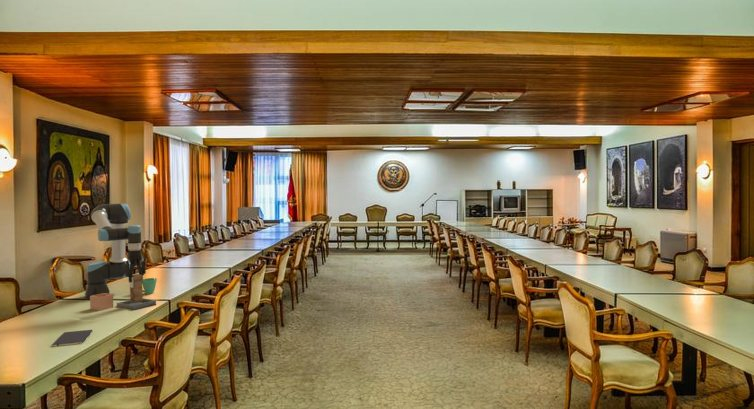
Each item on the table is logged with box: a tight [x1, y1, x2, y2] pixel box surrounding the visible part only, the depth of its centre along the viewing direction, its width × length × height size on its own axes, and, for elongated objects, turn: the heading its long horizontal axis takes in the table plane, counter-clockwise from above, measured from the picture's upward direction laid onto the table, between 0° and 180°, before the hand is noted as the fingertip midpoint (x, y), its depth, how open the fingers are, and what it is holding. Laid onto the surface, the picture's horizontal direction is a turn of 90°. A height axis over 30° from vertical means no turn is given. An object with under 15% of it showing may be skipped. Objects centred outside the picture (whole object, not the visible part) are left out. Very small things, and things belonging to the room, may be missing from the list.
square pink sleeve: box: [89, 293, 114, 311], centre depth 300 cm, size 9×9×9 cm
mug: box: [142, 277, 158, 295], centre depth 346 cm, size 15×10×10 cm
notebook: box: [52, 329, 93, 347], centre depth 241 cm, size 13×2×21 cm
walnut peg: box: [129, 273, 143, 303], centre depth 307 cm, size 5×5×17 cm
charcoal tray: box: [116, 298, 157, 312], centre depth 307 cm, size 16×16×3 cm
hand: (136, 286), depth 307 cm, fingers closed on walnut peg, 5 cm apart
